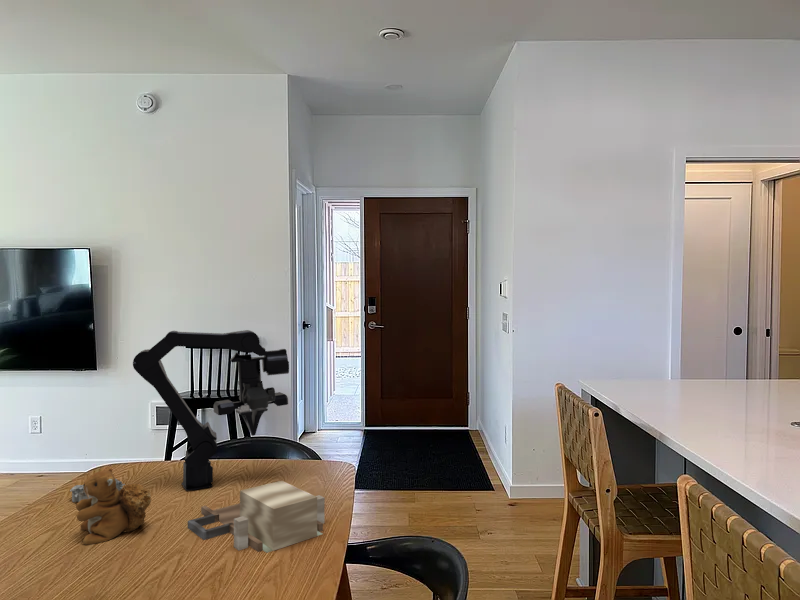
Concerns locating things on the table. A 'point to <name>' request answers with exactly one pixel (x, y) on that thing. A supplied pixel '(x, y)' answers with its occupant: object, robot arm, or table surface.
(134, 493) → the stuffed squirrel
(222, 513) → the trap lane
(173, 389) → the robot arm
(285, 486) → the maple block
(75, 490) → the egg carton
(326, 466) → the table surface
